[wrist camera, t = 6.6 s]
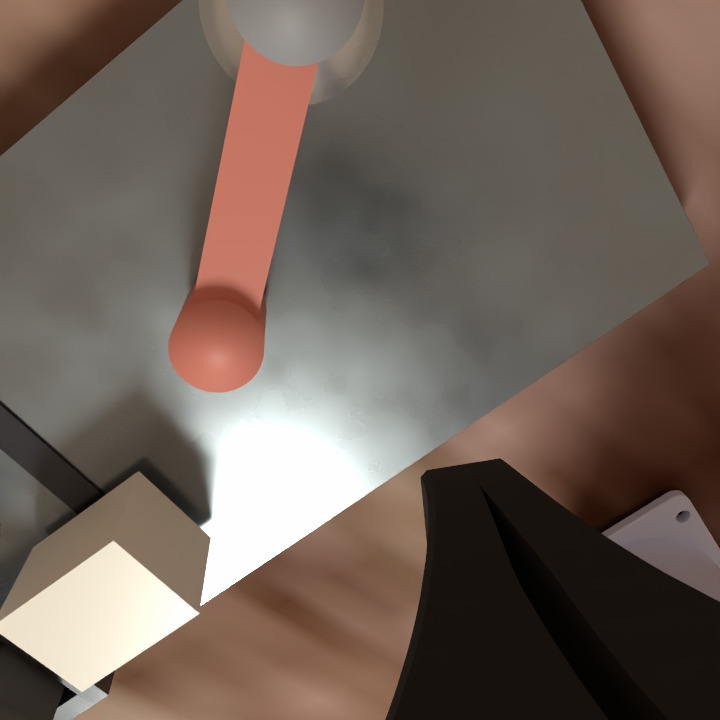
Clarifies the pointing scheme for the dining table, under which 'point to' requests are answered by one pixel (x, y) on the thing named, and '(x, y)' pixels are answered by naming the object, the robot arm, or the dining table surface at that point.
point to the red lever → (254, 185)
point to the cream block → (108, 584)
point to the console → (316, 267)
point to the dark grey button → (26, 688)
